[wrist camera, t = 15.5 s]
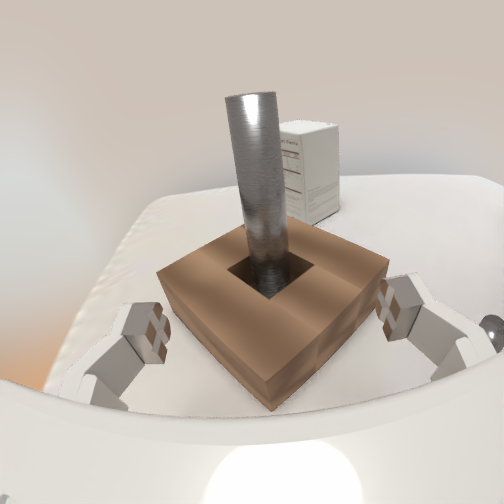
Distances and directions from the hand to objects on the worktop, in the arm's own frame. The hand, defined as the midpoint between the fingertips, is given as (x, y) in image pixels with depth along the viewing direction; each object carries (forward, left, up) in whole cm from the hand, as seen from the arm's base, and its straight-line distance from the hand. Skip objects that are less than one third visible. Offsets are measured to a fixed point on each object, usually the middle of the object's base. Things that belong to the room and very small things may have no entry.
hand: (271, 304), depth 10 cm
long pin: (-7, -8, -12) cm, 15 cm away
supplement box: (-23, -18, -12) cm, 31 cm away
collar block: (-7, -8, -12) cm, 15 cm away
